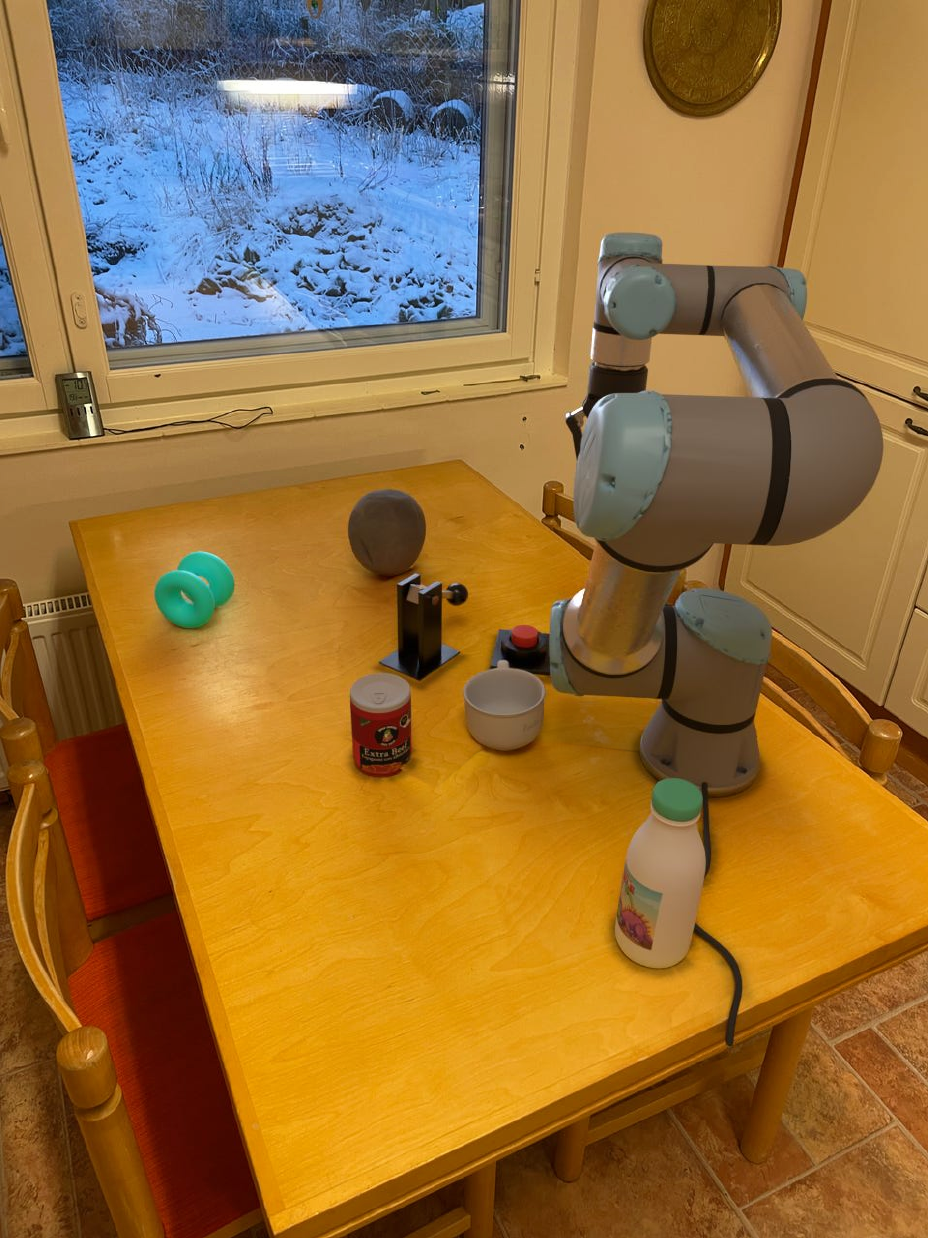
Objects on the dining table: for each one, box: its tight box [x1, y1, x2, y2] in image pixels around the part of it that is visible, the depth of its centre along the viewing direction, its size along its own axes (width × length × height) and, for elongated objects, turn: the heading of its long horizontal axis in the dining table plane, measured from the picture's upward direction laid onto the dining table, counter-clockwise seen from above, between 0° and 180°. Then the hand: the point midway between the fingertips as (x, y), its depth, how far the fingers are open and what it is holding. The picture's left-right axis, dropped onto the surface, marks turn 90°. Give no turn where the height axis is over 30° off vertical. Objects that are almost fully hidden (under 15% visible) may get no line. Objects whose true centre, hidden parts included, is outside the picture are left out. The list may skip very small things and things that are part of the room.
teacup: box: [462, 660, 547, 752], centre depth 122 cm, size 14×11×8 cm
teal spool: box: [154, 551, 236, 629], centre depth 147 cm, size 10×10×10 cm
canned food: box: [349, 672, 412, 778], centre depth 115 cm, size 8×8×11 cm
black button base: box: [489, 628, 551, 677], centre depth 139 cm, size 11×9×4 cm
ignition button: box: [511, 624, 539, 648], centre depth 138 cm, size 4×4×2 cm
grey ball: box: [347, 488, 427, 577], centre depth 161 cm, size 14×14×15 cm
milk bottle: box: [614, 778, 706, 969], centre depth 89 cm, size 8×8×20 cm
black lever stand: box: [378, 573, 461, 682], centre depth 135 cm, size 10×8×14 cm
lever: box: [407, 582, 469, 607], centre depth 137 cm, size 13×4×4 cm, turn 143°
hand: (601, 531), depth 128 cm, fingers closed
